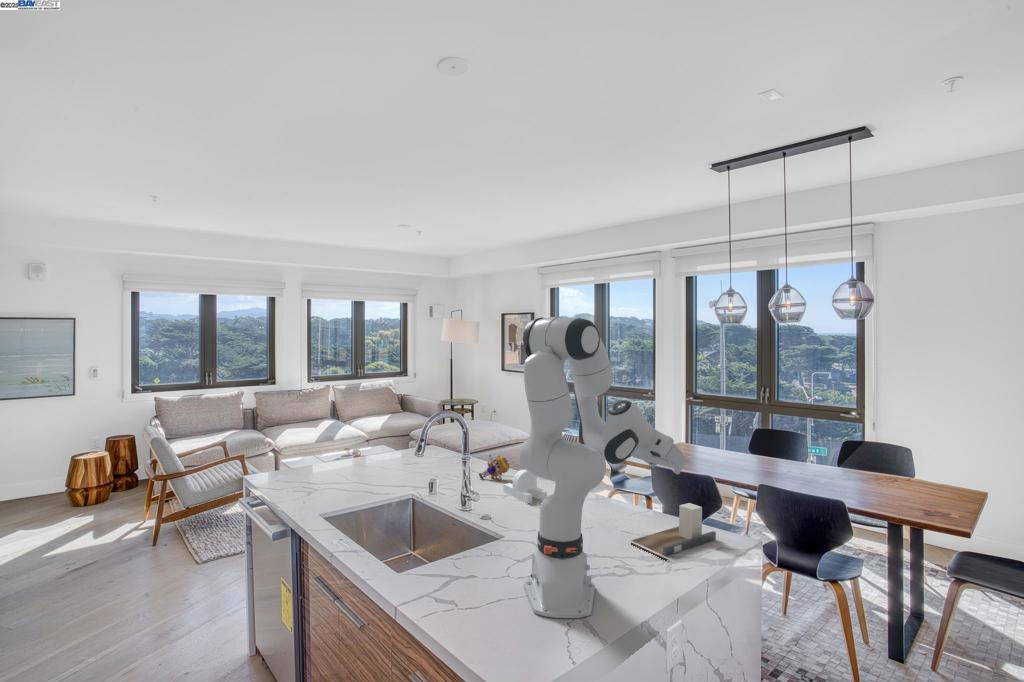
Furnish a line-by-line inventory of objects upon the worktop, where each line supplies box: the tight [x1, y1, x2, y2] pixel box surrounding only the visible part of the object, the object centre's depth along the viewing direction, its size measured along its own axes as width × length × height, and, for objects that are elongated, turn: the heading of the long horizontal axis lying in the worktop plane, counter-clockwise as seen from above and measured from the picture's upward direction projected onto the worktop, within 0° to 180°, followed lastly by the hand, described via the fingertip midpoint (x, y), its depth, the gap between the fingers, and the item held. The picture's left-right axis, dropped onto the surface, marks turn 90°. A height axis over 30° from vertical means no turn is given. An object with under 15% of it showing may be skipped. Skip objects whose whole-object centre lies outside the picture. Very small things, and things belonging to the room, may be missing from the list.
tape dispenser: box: [502, 468, 548, 504], centre depth 212 cm, size 18×10×11 cm, turn 33°
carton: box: [678, 502, 703, 539], centre depth 167 cm, size 5×5×10 cm
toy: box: [478, 454, 510, 482], centre depth 237 cm, size 14×7×15 cm
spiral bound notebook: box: [630, 525, 687, 562], centre depth 164 cm, size 14×24×2 cm, turn 123°
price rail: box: [662, 530, 717, 557], centre depth 158 cm, size 1×24×2 cm, turn 123°
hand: (665, 468), depth 160 cm, fingers open, 8 cm apart
